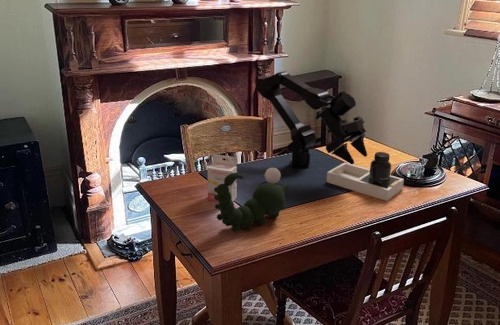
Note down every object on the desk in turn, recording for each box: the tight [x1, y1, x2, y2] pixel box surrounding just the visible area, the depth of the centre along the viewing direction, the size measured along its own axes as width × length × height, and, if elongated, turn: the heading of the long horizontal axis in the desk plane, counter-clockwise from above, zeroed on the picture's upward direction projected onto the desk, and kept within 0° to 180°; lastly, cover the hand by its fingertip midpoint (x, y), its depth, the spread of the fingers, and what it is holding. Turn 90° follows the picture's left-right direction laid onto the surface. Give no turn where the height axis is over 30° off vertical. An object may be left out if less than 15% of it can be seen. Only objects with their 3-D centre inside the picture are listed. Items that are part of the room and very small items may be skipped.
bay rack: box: [326, 162, 405, 202], centre depth 173 cm, size 23×12×4 cm, turn 50°
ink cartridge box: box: [207, 153, 238, 203], centre depth 160 cm, size 9×5×15 cm, turn 71°
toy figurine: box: [214, 172, 290, 233], centre depth 145 cm, size 10×19×26 cm
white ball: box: [264, 167, 282, 184], centre depth 174 cm, size 8×6×6 cm
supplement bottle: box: [368, 151, 392, 189], centre depth 168 cm, size 7×7×12 cm
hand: (359, 159), depth 172 cm, fingers open, 9 cm apart
